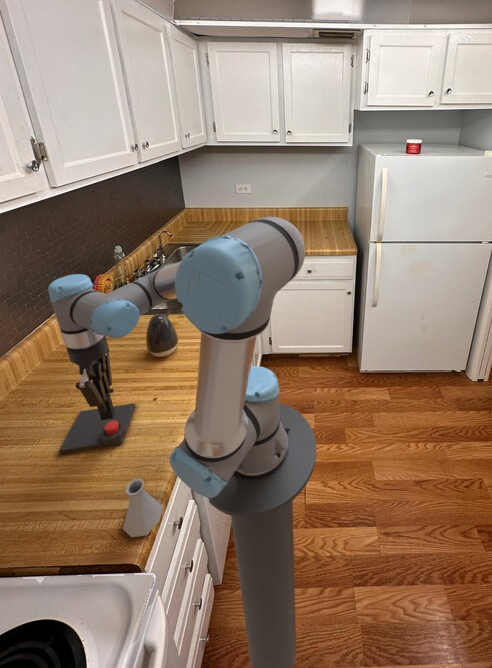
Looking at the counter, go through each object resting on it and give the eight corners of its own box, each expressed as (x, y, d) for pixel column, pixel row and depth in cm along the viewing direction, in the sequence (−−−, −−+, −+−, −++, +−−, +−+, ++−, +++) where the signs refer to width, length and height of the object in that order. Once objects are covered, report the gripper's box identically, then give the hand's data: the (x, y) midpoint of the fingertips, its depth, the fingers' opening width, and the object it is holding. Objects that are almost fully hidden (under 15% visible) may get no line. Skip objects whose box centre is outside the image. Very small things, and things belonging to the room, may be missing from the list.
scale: (137, 406, 96) (135, 398, 94) (123, 445, 84) (120, 437, 83) (81, 414, 93) (79, 406, 92) (59, 456, 81) (56, 447, 80)
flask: (148, 542, 65) (138, 510, 62) (116, 534, 66) (104, 502, 63) (169, 503, 72) (162, 471, 68) (140, 496, 73) (131, 465, 69)
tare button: (120, 424, 87) (119, 419, 86) (117, 434, 84) (115, 429, 84) (108, 426, 86) (106, 421, 86) (104, 436, 84) (102, 431, 83)
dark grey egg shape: (186, 346, 120) (180, 311, 115) (163, 364, 112) (156, 327, 106) (165, 339, 124) (159, 304, 119) (142, 356, 115) (133, 319, 110)
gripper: (80, 325, 80) (102, 399, 89) (52, 361, 68) (80, 442, 77) (114, 322, 82) (132, 394, 90) (92, 357, 70) (115, 437, 79)
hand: (108, 416), depth 84 cm, fingers closed
